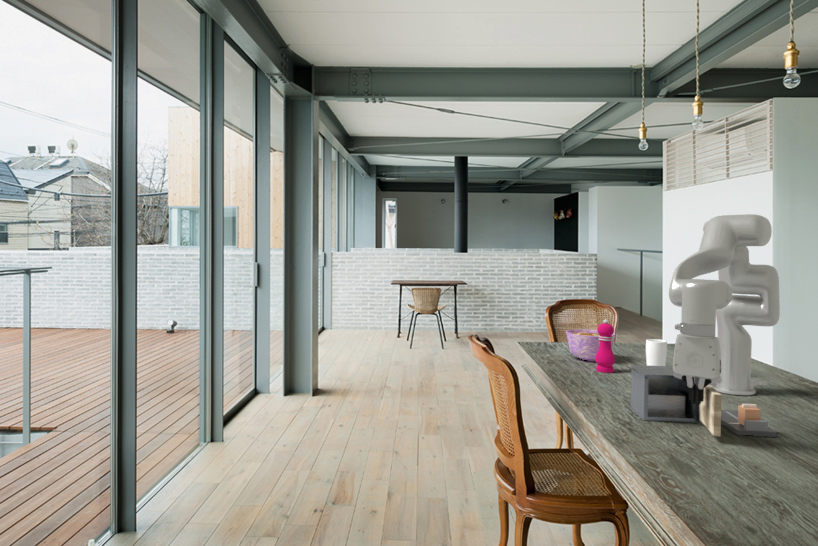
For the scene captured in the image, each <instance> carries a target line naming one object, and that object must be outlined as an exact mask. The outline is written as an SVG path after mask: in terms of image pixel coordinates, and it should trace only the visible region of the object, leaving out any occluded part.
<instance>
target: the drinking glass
mask: <svg viewBox="0 0 818 546" xmlns="http://www.w3.org/2000/svg"><path fill="white" fill-rule="evenodd" d="M667 355H668V341H667V340H665V339H658V338H653V339H652V338H649V339H648V338H647V339H645V361H646V363H645V364H646V366H667V365H666V364H667V357H668V356H667Z"/></svg>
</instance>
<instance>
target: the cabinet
mask: <svg viewBox="0 0 818 546" xmlns="http://www.w3.org/2000/svg"><path fill="white" fill-rule="evenodd" d="M673 373H674V371H673V365H670V366H669V365H666V366H647V365H644V364H643V365H640V364H639V365H638V364H633V365H631V374H630V376H631V379H630V380H631V381H630V409H632V410H633V411H634V412H635V413H636V414H637V416H639V417H640V418H641V419H642V420H643V421H648V422H649V421H651V422H652V421H653V422H654V421H655V422H673V423H675V422H676V423H678V422H679V423H697V424H700V404H699V405H696V404H691V400H690V399H689V387H688V386H687V384H686V383H685V382H684V381H683V380H682V379H679V378H676V377H674V376H673ZM694 378H695V384H696V386H698V384H699V379H700V378H699V377H694Z"/></svg>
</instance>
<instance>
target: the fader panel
mask: <svg viewBox="0 0 818 546" xmlns="http://www.w3.org/2000/svg"><path fill="white" fill-rule="evenodd" d="M721 426H724V427H725V428H727V429H728V430H729V431H731V432H732V433H734V434H735V435H736V434H737V436H742V435H753V436H752V437H764V436H767V437H768V438H770V437H771V438H777V436H778V434H777V433H778V432H777V431H776V430H774V429H773V428H771V427H769V422H768V421H767V420H761V419H760V420H744V426H743V425H742V424H740V423H739V422H738V409H721Z"/></svg>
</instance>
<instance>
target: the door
mask: <svg viewBox="0 0 818 546" xmlns="http://www.w3.org/2000/svg"><path fill="white" fill-rule="evenodd" d="M722 396H723V395H722V393H721V392H718V391H716V390H715V389H714V388H713V387H712V386H711V384H709V385H707V386H706V387H705V388H704V400H703V402H702V401H701V403H700V404H699V425H700V426H705V428H706V429H707V430H708V431H709V433H711V435H712V436H713V437H719V438H720V437H721V434H722V432H721V430H722V424H721V410H722V400H723V399H722V398H723V397H722Z"/></svg>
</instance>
